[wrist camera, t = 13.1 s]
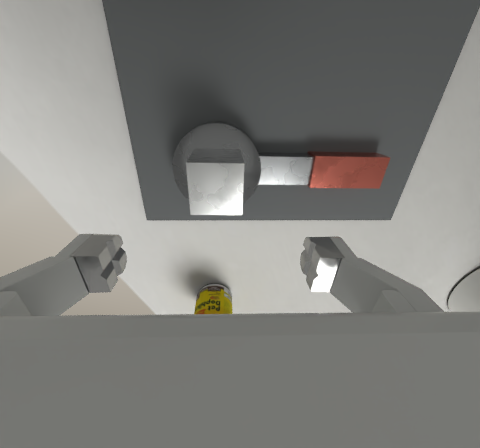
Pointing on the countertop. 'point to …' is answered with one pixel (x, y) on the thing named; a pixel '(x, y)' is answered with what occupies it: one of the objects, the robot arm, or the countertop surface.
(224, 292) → the supplement bottle
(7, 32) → the countertop surface
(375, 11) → the mat
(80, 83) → the countertop surface
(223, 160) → the light grey block
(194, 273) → the countertop surface
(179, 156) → the ratchet
